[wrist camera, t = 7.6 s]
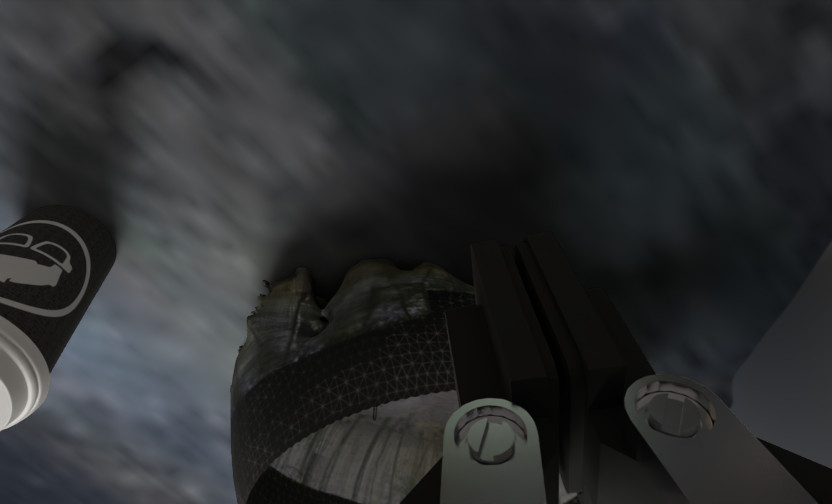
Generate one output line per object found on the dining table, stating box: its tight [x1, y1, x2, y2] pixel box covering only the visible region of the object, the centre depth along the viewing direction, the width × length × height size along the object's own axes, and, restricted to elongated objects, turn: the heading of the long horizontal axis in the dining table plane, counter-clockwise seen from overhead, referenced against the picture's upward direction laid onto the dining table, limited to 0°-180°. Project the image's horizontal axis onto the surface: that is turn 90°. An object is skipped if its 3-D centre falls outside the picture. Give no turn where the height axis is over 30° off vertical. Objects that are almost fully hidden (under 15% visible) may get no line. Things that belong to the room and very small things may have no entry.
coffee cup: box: [0, 205, 116, 431], centre depth 34 cm, size 10×10×15 cm
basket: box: [230, 258, 580, 504], centre depth 42 cm, size 28×35×16 cm
